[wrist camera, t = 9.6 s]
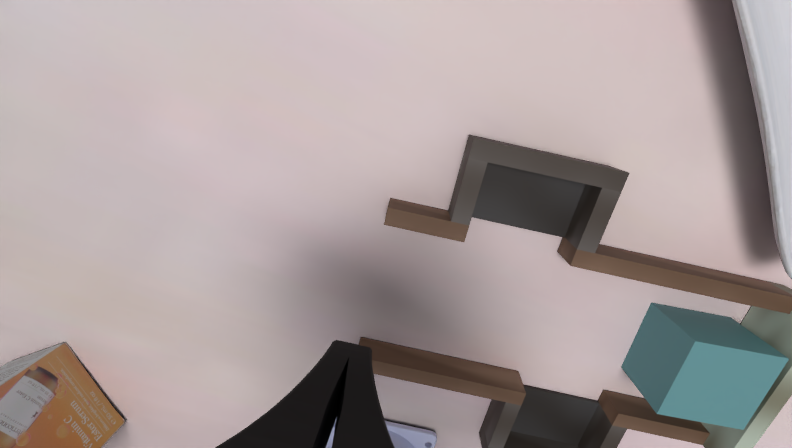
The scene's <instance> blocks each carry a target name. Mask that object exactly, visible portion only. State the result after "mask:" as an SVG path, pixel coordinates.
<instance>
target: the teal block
mask: <svg viewBox="0 0 792 448" xmlns="http://www.w3.org/2000/svg"><path fill="white" fill-rule="evenodd" d="M788 360H789V358H788V357H786V356H785V355H783V354H782V353H780V352H779V351H778V350H776V349H775V348H773V347H772V346H770V345H769V344H768V343H766V342H765V341H763V340H762V339H760V338H759V337H758V336H756V335H755V334H753V333H752V332H751V331H749V330H748V329H746V328H745V327H743V326H742V325H741V324H739V323H738V322H736V321H735V320H733V319H732V318H731V317H726V316H720V315H715V314H710V313H704V312H699V311H694V310H688V309H683V308H677V307H672V306H667V305H661V304H656V303H651V304H650V306H649V309H648V311H647V313H646V315H645V317H644V319H643V321H642V324H641V326H640V328H639V330H638V332H637V334H636V336H635V339H634V341H633V343H632V345H631V347H630V349H629V352H628V354H627V356H626V358H625V360H624V362H623V364H622V369H623V370H624V371H625V373H626V374H627V375H628V376H629V378H630V379H631V380H632V382H633V383H634V384H635V386H636V387H637V388H638V390H639V391H640V392H641V394H642V395H643V396H644V398H645V399H646V400H647V402H648V403H649V404H650V406H651V407H652V408H653V410H654V411H655V412H656V414H660V415H665V416H671V417H676V418H681V419H687V420H692V421H697V422H703V423H708V424H714V425H719V426H724V427H730V428H735V429H741V430H744V428H745V427H746V425H747V424H748V422H749V421H750V419H751V417H752V416H753V414H754V413H755V411H756V410H757V408H758V407H759V405H760V403H761V402H762V400H763V399H764V397H765V396H766V394H767V393H768V391H769V390H770V388H771V386H772V385H773V383H774V382H775V380H776V379H777V377H778V376H779V374H780V372H781V371H782V369H783V368H784V366H785V365H786V363H787V362H788Z"/></svg>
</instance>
